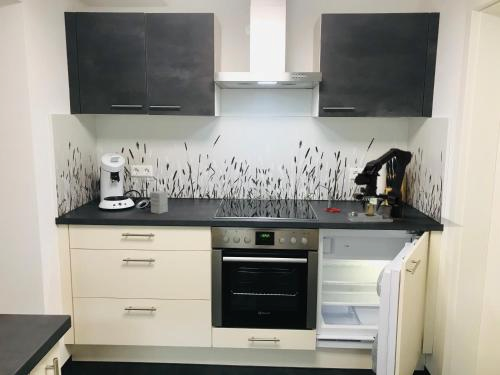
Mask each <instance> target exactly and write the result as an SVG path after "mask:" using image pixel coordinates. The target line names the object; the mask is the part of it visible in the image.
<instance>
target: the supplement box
mask: <svg viewBox="0 0 500 375" xmlns="http://www.w3.org/2000/svg"><path fill="white" fill-rule="evenodd" d="M168 201H169V200H168V191H165V190H155V191H150V213H152V214H153V213H154V214H159V215H160V214H163V213H168V211H169V209H168V208H169V206H168V203H169V202H168Z"/></svg>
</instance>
